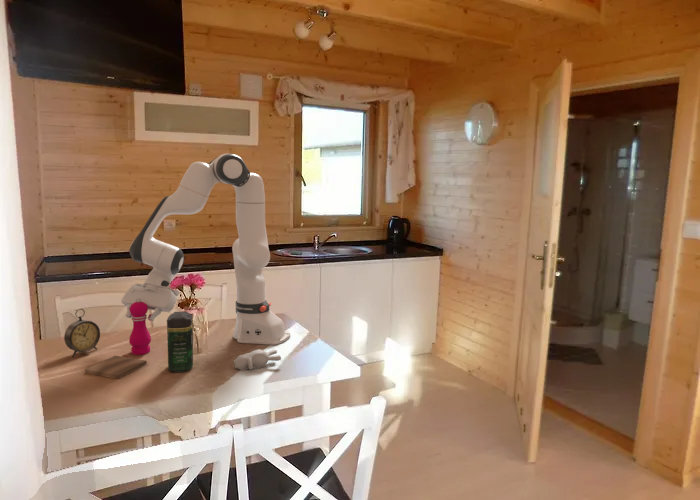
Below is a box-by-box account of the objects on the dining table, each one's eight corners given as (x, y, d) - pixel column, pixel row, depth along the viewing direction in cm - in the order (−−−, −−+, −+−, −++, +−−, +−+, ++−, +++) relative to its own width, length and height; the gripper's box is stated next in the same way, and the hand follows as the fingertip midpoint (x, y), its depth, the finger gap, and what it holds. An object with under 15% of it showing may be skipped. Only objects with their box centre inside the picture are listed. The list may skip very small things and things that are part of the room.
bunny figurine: (231, 352, 172) (274, 343, 177) (233, 366, 173) (276, 356, 178) (236, 362, 164) (281, 352, 169) (238, 377, 165) (282, 366, 170)
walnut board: (146, 363, 171) (146, 360, 171) (118, 378, 159) (118, 375, 159) (115, 358, 175) (115, 355, 175) (85, 373, 163) (85, 369, 162)
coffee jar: (192, 372, 165) (190, 317, 162) (166, 374, 163) (164, 318, 160) (194, 361, 174) (193, 308, 171) (170, 362, 172) (168, 309, 169)
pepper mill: (146, 355, 178) (144, 300, 175) (126, 355, 178) (123, 300, 175) (154, 348, 185) (152, 295, 182) (135, 348, 185) (132, 294, 182)
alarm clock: (71, 359, 174) (68, 313, 171) (63, 356, 176) (59, 310, 174) (102, 350, 183) (99, 306, 180) (93, 347, 186) (90, 304, 183)
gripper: (128, 278, 188) (110, 310, 181) (175, 283, 182) (158, 317, 175) (137, 287, 193) (119, 319, 186) (183, 293, 187) (167, 326, 179)
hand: (139, 318), depth 180 cm, fingers open, 8 cm apart
